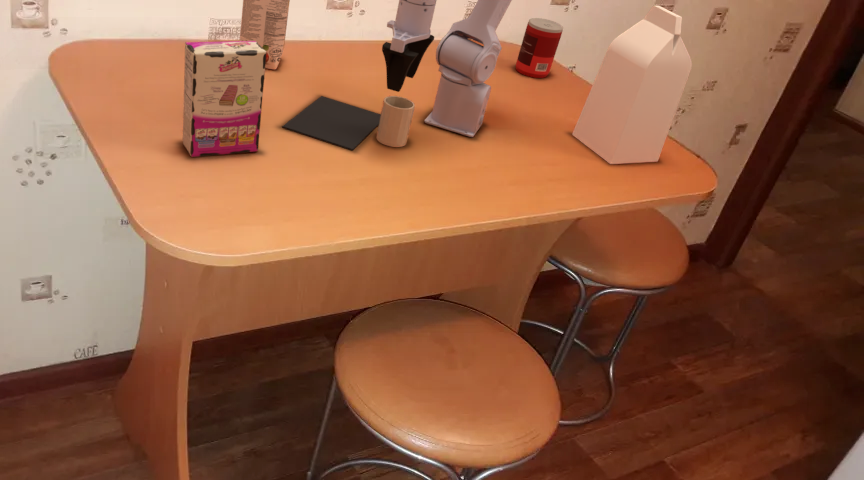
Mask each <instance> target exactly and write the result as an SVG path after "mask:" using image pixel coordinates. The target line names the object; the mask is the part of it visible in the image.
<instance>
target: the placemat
mask: <svg viewBox="0 0 864 480" xmlns="http://www.w3.org/2000/svg"><path fill="white" fill-rule="evenodd" d="M380 115H381V113H379V112H378V113H377V112H374V111H371V110H368V109H365V108H362V107H358V106H355V105H352V104H349V103H347V102H346V103H345V102H342V101H339V100H336V99H333V98H330V97H326V96H323V95H321V96H319V97H318V98H317V99H315V100H314V101H313V102H312V103H310V104H309V105H308V106H306V107H305V108H303V110H301V111H300V112H299V113H297V114H296V115H295V116H293V117H292V118H290V120H288V121H287V122H286V123H284V124H283V125H282V126H281V127H282V129H285V130H288V131H290V132H294V133H297V134H300V135H302V136H306V137H309V138H313V139H316V140H319V141H322V142H324V143H328V144H331V145H334V146H336V147H340V148H343V149H346V150H349V151H354V150H355V149H356V148H357V147H358V146H359V145H360V144H361V143H362V142H363V141H364V140H365V139H366V138H367V137H368V136H369V135H370V134H371V133H372V132H373V131H374V130H376V128H378V125H379V120H380Z"/></svg>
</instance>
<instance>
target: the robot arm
mask: <svg viewBox="0 0 864 480" xmlns="http://www.w3.org/2000/svg"><path fill="white" fill-rule="evenodd" d="M512 1H513V0H477V1H476V3H475V5H474V7H473V9H472V11H471V13H470V15H469V16H468V17H467V18H463V19H461V20H459V21H458V20H457V21H456V22H453V23H452V25H451V27H450V28H449V30H448V31H447V33H446V34H445V35H444V36H443V37H442V38H441V39H440V41H439V42H438V44H437V47H436V49H435V50H436V51H435V62H436V64H437V65H438V72H440V77H439V81H438V86H437V90H436V93H435V98H434V102H433V103H434V104H433V107H432V111H431V112H430V113H429V114H428V115H427V117H426V118H425V119H424V121H423V122H424V123H425V124H427V125H430V126H433V127H437V128H440V129H444V130H447V131H450V132H452V133H456V134H459V135H463V136H466V137H468V138H474V136H476V133H477V132H478V130H479V129H480V128H481V127H482V125H483V122H484V119H485V114H486V110H487V106H488V102H489V99H490V95H491V92H492V86H491V85H489V84H487V83H485V82H486V81H487V80H488V79H490V78H491V76H492V75H493V73H494V71H495V69H496V66H497V61H498V58H499V56H500V54H501V51H502V49H503V47H502V44H501V42H500V39H499V37H498V34H497V29H498V27H499V25H500V24H501V22H502V21H503V18H504V16H505V14H506V12H507V10H508V9H509V6H510V5H511V3H512ZM436 4H437V0H398V5H397V10H396V15H395V20H393V19H391V20H389V21H387V22H386V27H387V28H389V29H392V38H391V42H388V41H385V42H384V43H383V44H382V46H381V52H382V55H383V58H384V61H385V69H386V88H387V89H388V90H391V91H394V92H396V93H399V92H401V90H402V88H403V85H404V83H405V80H406V78H410V79H413V78H414V77H415V75H416V73H417V71H418V68H419V67H420V64H421V62H422V59H423V57H424V55H425V53H426V52H427V50H428V48H429V47H430V45H431V44H432V43H433V42H434V40H435V36H434V35H433V34H431V33H432V30H431V27H432V23H433V18H434V14H435V9H436Z"/></svg>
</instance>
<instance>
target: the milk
mask: <svg viewBox="0 0 864 480" xmlns="http://www.w3.org/2000/svg"><path fill="white" fill-rule="evenodd" d="M682 22H683V16H681V15H679V14H677V13H675V12H673V11H671V10H668V9H666V8H665V7H663V6H661V5H653V6H652V7H651V8H650V9H649V11H648V12H647V13H646V14H645V16H644V17H643V19H641V20H639V21H638V22H636V23H634V25H632V26H631V27H629V28H628V29H626V30H625V31H623V32H622V33H620V34H619V35H618V36H616V37H615V38H614V39H613V40H612V41H611V42H610V44H609V45H608V47H607V50H606V51H605V55H604V57H603V59H602V61H601V64H600V67H599V69H598V71H597V74H596V76H595V79H594V80H593V83H592V86H591V88H590V90H589V93H588V94H587V96H586V100H585V102H584V105H583V106H582V110H581V111H580V115H579V117H578V119H577V121H576V124H575V126H574V129H573V131H572V134H571V135H572V137H574V138H576V139H577V140H578V141H580V142H581V143H582V144H583V145H585V147H588V149H590V150H591V151H593V152H594V153H595V154H597V156H599V157H601V159H603V160H604V161H606V162H607V163H608V164H610V165H618V164H620V165H622V164H637V163H639V164H640V163H655V162H656V163H658V162H659V159H660V157H661V153H662V151H663V148H664V145H665V143H666V140H667V137H668V135H669V131H670V129H671V126H672V123H673V121H674V118H675V115H676V113H677V110H678V107H679V104H680V101H681V99H682V97H683V94H684V90H685V88H686V85H687V82H688V79H689V77H690V74H691V71H692V69H693V62H692V57H691V55H690V53H689V51H688V48H687V47H686V45H685V42H684V41H683V38H682V36H681V35H682V33H681V31H682Z"/></svg>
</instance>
